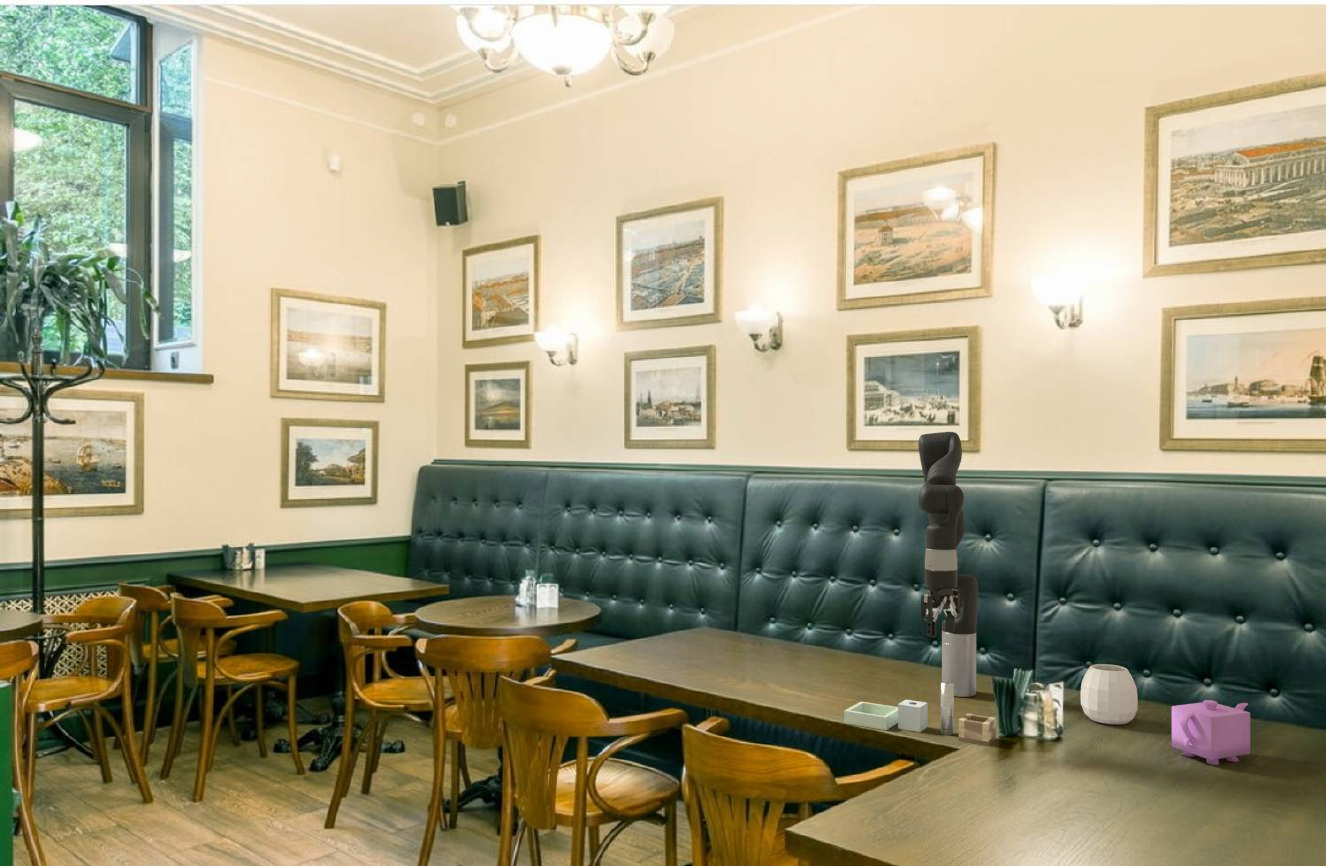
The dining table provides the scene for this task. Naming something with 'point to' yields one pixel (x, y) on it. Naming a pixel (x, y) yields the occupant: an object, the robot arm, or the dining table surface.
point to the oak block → (977, 729)
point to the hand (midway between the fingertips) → (940, 634)
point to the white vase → (1109, 694)
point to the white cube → (912, 715)
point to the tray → (871, 715)
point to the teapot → (1211, 730)
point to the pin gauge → (947, 708)
